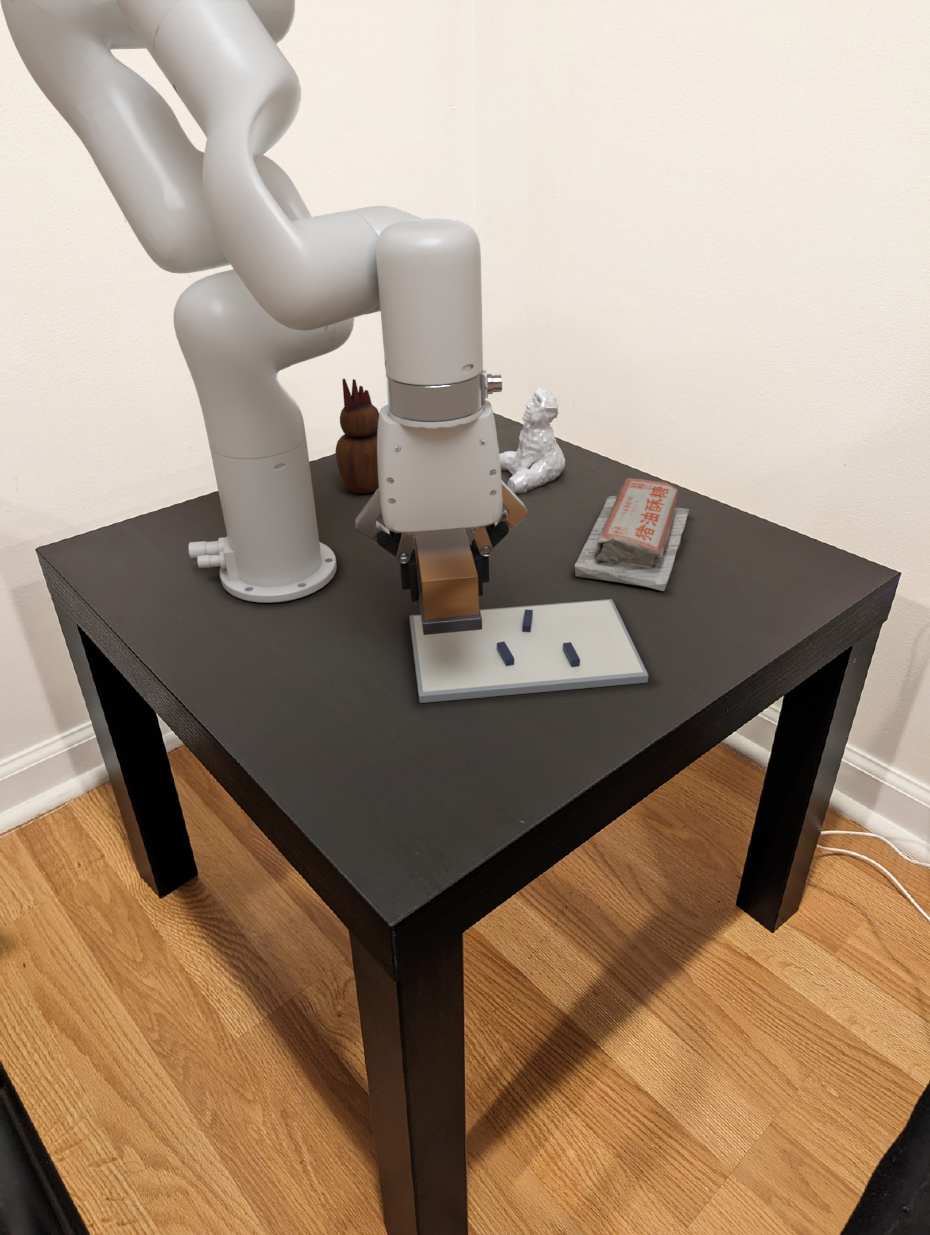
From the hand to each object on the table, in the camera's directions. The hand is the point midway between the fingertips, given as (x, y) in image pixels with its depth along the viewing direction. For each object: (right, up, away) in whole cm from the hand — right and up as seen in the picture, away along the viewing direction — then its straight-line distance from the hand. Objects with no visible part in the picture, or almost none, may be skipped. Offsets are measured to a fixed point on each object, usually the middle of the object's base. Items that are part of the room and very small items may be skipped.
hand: (445, 589), depth 78 cm
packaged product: (+21, +5, +22) cm, 31 cm away
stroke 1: (+6, -6, +3) cm, 9 cm away
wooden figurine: (-11, +14, +35) cm, 40 cm away
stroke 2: (+8, -3, +7) cm, 11 cm away
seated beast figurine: (+11, +16, +37) cm, 42 cm away
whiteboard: (+7, -6, +5) cm, 11 cm away
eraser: (0, -1, 0) cm, 1 cm away
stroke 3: (+12, -6, +3) cm, 13 cm away
